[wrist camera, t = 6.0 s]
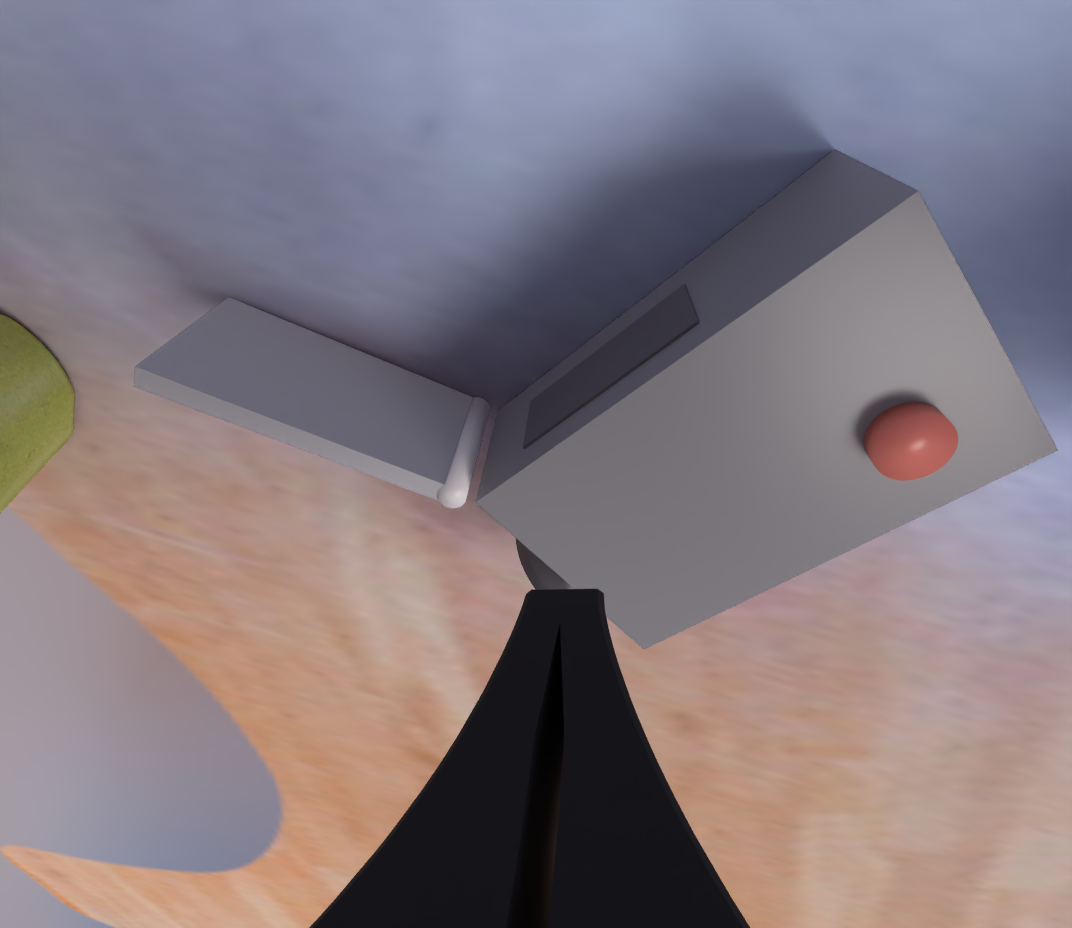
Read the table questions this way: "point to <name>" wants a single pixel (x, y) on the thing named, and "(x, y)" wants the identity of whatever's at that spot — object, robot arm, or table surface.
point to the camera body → (762, 410)
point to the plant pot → (29, 408)
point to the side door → (322, 399)
